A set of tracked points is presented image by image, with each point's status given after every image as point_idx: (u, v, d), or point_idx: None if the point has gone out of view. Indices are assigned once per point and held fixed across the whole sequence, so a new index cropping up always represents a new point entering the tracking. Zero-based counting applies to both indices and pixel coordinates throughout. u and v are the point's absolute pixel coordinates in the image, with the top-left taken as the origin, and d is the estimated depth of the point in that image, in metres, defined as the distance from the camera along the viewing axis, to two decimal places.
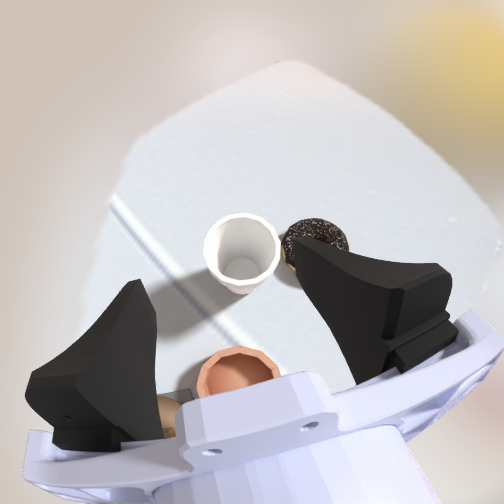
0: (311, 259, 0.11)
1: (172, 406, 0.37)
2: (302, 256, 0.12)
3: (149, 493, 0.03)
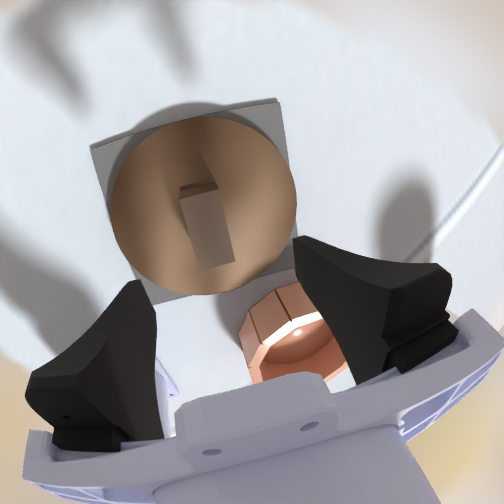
0: (311, 259, 0.11)
1: (274, 242, 0.22)
2: (302, 256, 0.11)
3: (149, 493, 0.03)
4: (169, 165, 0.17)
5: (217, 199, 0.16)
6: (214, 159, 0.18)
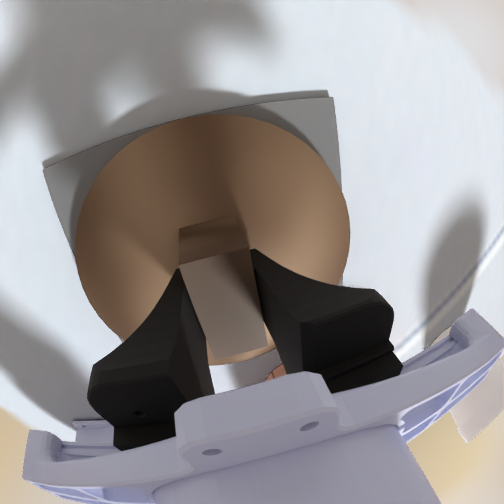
0: None
1: None
2: None
3: (149, 493, 0.03)
4: (160, 194, 0.11)
5: (245, 264, 0.09)
6: (234, 184, 0.11)
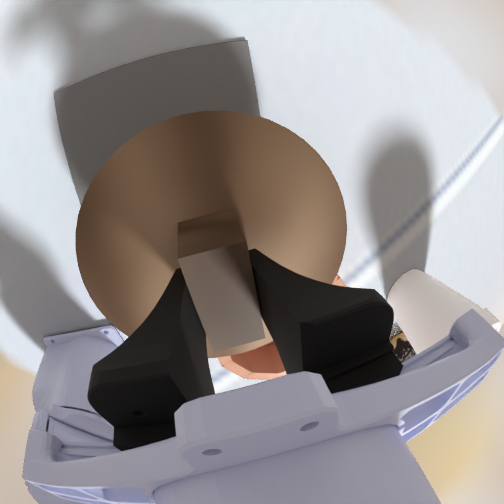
0: (254, 275, 0.10)
1: None
2: None
3: (149, 493, 0.03)
4: (160, 188, 0.11)
5: (243, 258, 0.10)
6: (232, 179, 0.11)
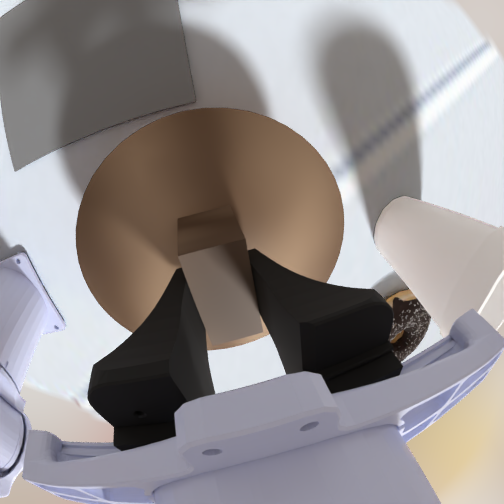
0: (254, 275, 0.10)
1: None
2: None
3: (149, 493, 0.03)
4: (159, 185, 0.11)
5: (241, 255, 0.10)
6: (231, 175, 0.11)
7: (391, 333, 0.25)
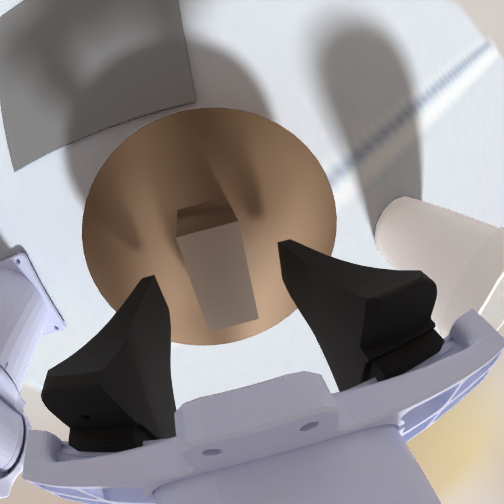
0: (294, 264, 0.11)
1: None
2: (286, 260, 0.11)
3: (149, 493, 0.03)
4: (161, 178, 0.12)
5: (235, 237, 0.11)
6: (227, 169, 0.12)
7: None
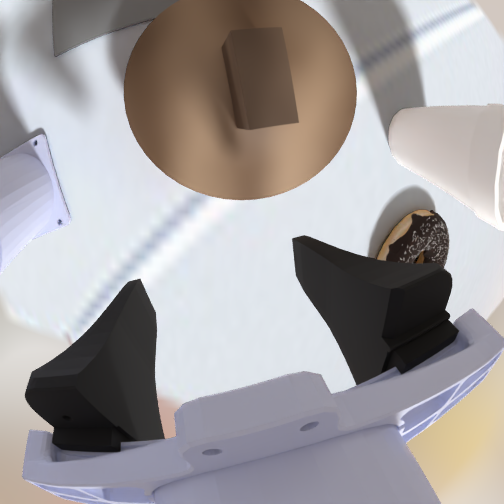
0: (311, 259, 0.11)
1: (333, 132, 0.15)
2: (302, 256, 0.11)
3: (149, 493, 0.03)
4: (210, 23, 0.11)
5: (279, 38, 0.10)
6: (264, 23, 0.11)
7: (414, 247, 0.24)
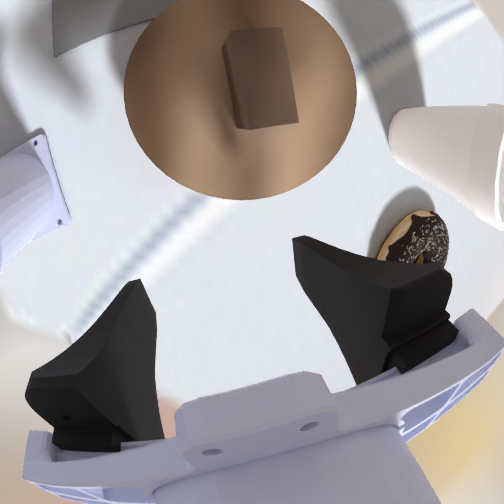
0: (311, 259, 0.11)
1: (333, 132, 0.15)
2: (302, 256, 0.11)
3: (149, 493, 0.03)
4: (210, 23, 0.11)
5: (279, 38, 0.10)
6: (264, 23, 0.11)
7: (413, 248, 0.24)
